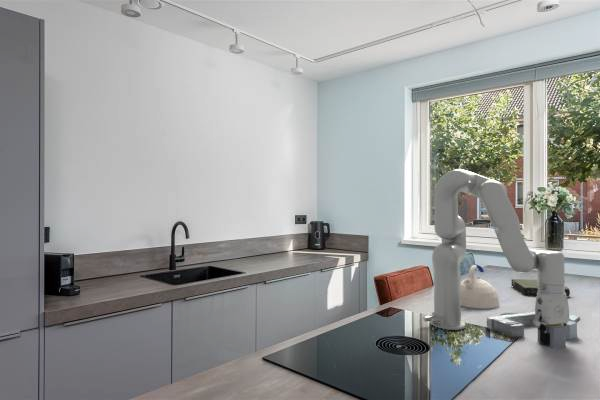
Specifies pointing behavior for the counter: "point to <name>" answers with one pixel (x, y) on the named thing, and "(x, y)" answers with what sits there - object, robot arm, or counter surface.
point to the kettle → (478, 292)
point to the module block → (556, 335)
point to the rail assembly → (511, 323)
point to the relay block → (571, 330)
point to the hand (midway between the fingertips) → (551, 342)
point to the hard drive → (574, 318)
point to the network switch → (529, 286)
